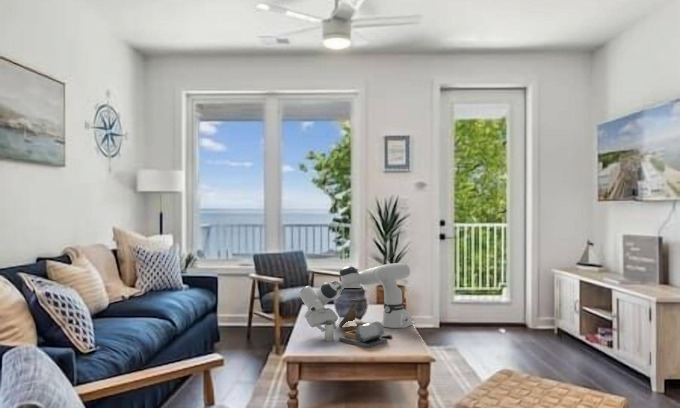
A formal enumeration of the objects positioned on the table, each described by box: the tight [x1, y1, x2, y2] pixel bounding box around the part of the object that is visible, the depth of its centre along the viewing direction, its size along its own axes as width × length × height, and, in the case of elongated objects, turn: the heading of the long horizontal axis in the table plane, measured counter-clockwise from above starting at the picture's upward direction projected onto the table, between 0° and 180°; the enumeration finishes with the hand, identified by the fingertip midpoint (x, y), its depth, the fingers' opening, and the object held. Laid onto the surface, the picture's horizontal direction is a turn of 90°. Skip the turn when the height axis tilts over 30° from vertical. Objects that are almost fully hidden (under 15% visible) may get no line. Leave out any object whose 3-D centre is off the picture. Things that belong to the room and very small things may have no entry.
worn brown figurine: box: [338, 299, 357, 328], centre depth 364 cm, size 12×6×18 cm, turn 100°
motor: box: [338, 321, 388, 349], centre depth 327 cm, size 18×22×11 cm
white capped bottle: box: [324, 320, 334, 342], centre depth 331 cm, size 5×5×11 cm
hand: (329, 329), depth 330 cm, fingers open, 8 cm apart
